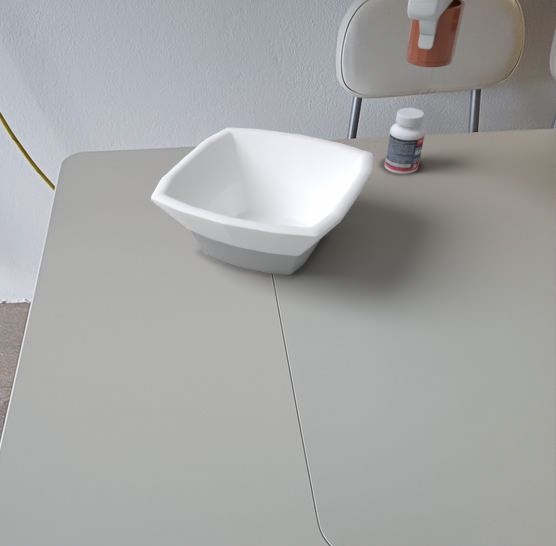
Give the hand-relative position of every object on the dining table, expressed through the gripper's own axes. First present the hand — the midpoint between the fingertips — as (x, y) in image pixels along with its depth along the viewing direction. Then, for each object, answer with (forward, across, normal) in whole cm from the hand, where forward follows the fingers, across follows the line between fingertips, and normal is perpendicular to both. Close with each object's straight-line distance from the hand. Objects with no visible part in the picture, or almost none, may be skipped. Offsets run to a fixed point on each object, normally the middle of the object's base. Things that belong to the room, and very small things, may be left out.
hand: (433, 38), depth 85 cm
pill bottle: (+21, +5, +2) cm, 22 cm away
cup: (+3, 0, 0) cm, 3 cm away
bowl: (+21, -23, +13) cm, 34 cm away
